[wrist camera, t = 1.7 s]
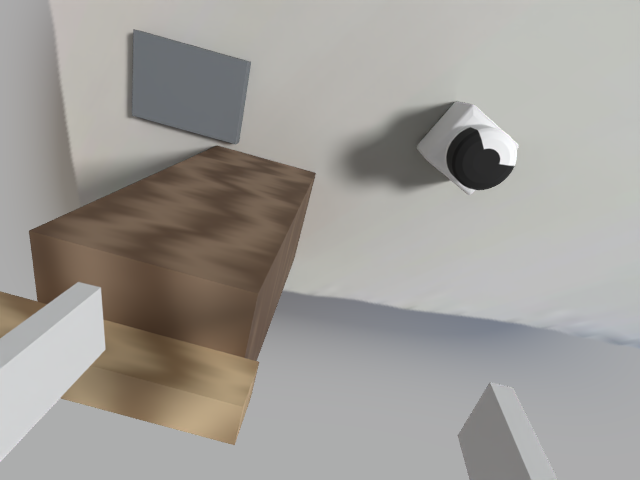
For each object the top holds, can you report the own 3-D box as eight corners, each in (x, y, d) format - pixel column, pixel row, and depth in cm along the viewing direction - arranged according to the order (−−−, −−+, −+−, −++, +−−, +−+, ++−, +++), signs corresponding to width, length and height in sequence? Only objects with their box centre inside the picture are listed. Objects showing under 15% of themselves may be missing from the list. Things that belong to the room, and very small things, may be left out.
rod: (-112, 299, 24) (-183, 332, 21) (-127, 256, 23) (-206, 285, 20) (250, 397, 24) (234, 445, 21) (259, 361, 23) (243, 406, 20)
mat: (138, 114, 47) (132, 115, 46) (140, 30, 43) (133, 29, 42) (238, 142, 47) (235, 144, 46) (250, 62, 43) (247, 61, 42)
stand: (206, 235, 54) (48, 393, 27) (217, 145, 48) (29, 230, 21) (293, 259, 54) (226, 441, 27) (315, 173, 48) (258, 293, 21)
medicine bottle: (454, 180, 46) (483, 211, 36) (414, 146, 45) (432, 167, 34) (497, 136, 44) (543, 155, 33) (456, 99, 42) (489, 106, 32)
